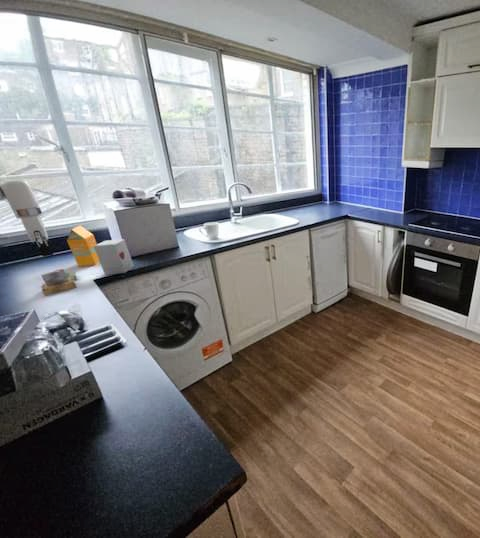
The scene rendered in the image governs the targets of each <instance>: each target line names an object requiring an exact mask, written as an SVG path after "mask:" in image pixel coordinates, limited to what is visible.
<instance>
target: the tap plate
mask: <svg viewBox="0 0 480 538" xmlns="http://www.w3.org/2000/svg"><path fill="white" fill-rule="evenodd" d="M74 279H75V278H74ZM74 279H73V277H69V278H68V280H69V281H65V282H61V283H57V284H53V285H49V286H46V284H45V282H44V283H41V285H40V288H41V291H42V293H43V295H44V296H50V295H53V294H58V293H61V292H66V291H69V290H73V289H77V284H76V280H75V281H74Z"/></svg>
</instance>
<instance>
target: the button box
mask: <svg viewBox="0 0 480 538" xmlns="http://www.w3.org/2000/svg"><path fill="white" fill-rule="evenodd" d="M64 271H65V273H66V275H67V278H69V277H73V279H74V278H75V279H74V281H75V282H76V281H78V275H77V273H76V272H75V271H72V272H69V270H64Z"/></svg>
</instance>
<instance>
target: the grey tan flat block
mask: <svg viewBox="0 0 480 538" xmlns="http://www.w3.org/2000/svg"><path fill="white" fill-rule="evenodd" d="M58 270H59V271H56V270H54V272H53V271H50V272H46V273H41V277H42V280H43V281H44V283H45V284H46V286H49V285H53V284H57V283H61V282H65V281H69V280H68V278H67V275H66V273H65V271H66V270H65V269H63V268H61V269H58Z"/></svg>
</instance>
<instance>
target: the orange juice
mask: <svg viewBox="0 0 480 538" xmlns="http://www.w3.org/2000/svg"><path fill="white" fill-rule="evenodd" d="M66 241H67V244H68V246H69V248H70V251H71V253H72V255H73V257H74V260H75V262H76V264H77V267H78V268H82V267H83V268H84V267H89V266H90V267H91V266H97V265H98V264H99V263H100V261H99V258H98V256H97V253H96V251H95V248H94V246H95V245H97V244H98V242H97V240H96V238H95V235H94V234H93V233H92V232H91V231H89V230H87V229H86V228H85V227H83V226H82V225H81V224H80V225H78V226H75V227H73V228H71V229H70V231H69V234H68V237H67V239H66Z"/></svg>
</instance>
